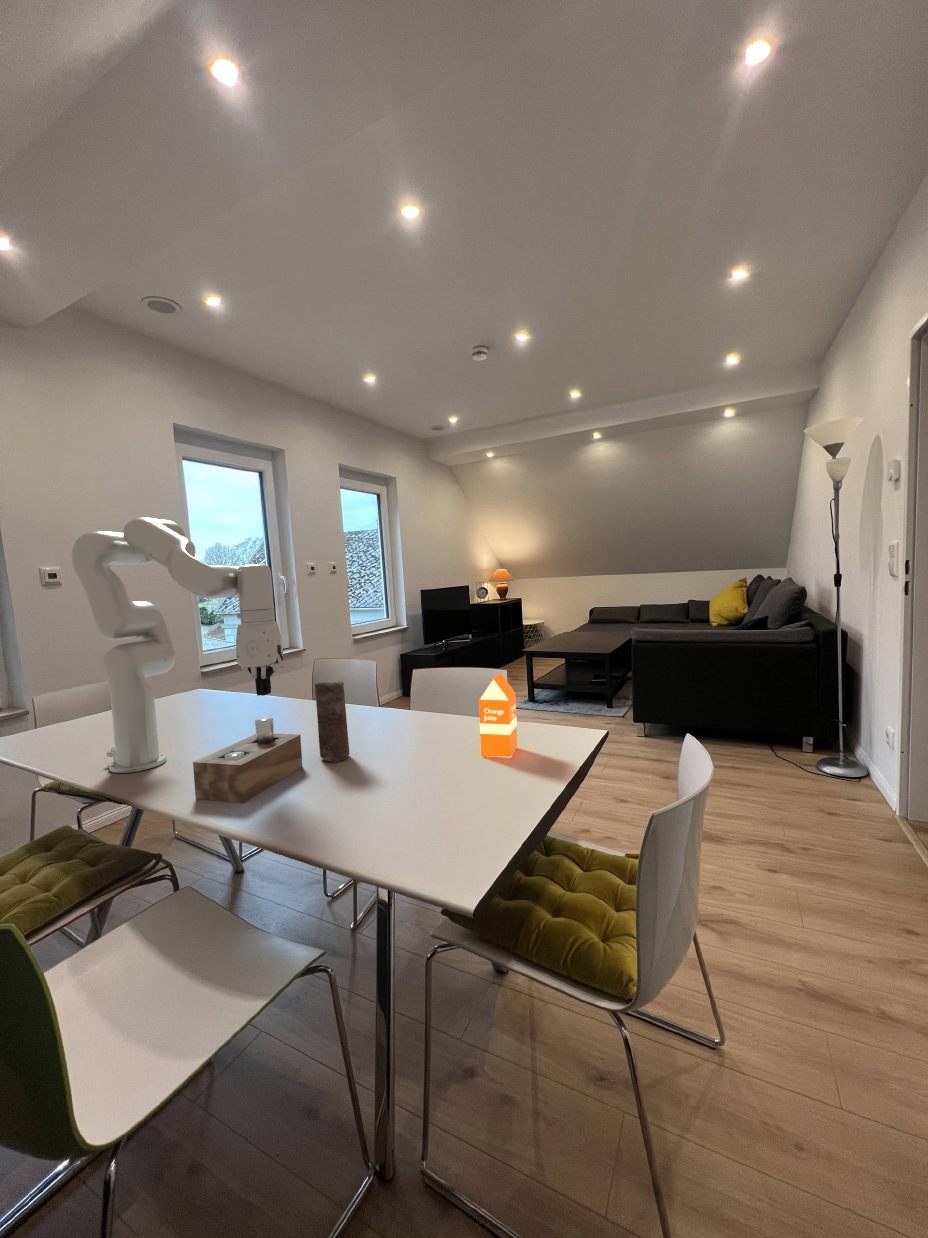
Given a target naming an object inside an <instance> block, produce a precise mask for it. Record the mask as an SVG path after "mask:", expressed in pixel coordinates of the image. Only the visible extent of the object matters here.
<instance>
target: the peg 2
mask: <svg viewBox="0 0 928 1238" xmlns="http://www.w3.org/2000/svg"><path fill="white" fill-rule="evenodd" d="M254 723H255V724H254V725H255V734H256V741H257V743H265V744H268V743H270V742H272V741H274V734H275V731H274V730H275V729H274V726H275V725H274V718H273V717H261V718H257V719H255V720H254Z"/></svg>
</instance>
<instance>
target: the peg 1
mask: <svg viewBox="0 0 928 1238" xmlns="http://www.w3.org/2000/svg"><path fill="white" fill-rule="evenodd" d="M242 756H244V752H233V753H229V754H226V755H225V756H224V757H225V759H238V758H240V757H242Z"/></svg>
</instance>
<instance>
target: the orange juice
mask: <svg viewBox="0 0 928 1238" xmlns="http://www.w3.org/2000/svg"><path fill="white" fill-rule="evenodd" d="M516 695H517V693H516V692H515V691H514V689H513V687H512V686H511V685H510V683H509V682H508V680H507V679H506V677H505V676H504V675H503V673H502V672H499V673H498V674H497V675H495V676H494V677H492V680H491V682H490V684H489V685H488V686H487V688H486V689H485V690H484V692H483V694H482V695H481V697H480V698H479V699H478V702H479V703H478V708H479V734H480V735H479V736H480V739H479V741H480V757H481V756H507V757H508V756H509V757H510V756H511V755H512V753H513V752H514V750H515V748H516V746H517V747H518V732H517V731H518V730H517V729H518V728H517V726H518V724H517V723H518V721H517V719H518V718H517V700H516V699H517V697H516ZM514 753H515V752H514ZM512 756H513V755H512Z"/></svg>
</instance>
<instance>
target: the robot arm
mask: <svg viewBox="0 0 928 1238" xmlns="http://www.w3.org/2000/svg"><path fill="white" fill-rule="evenodd" d="M122 530H123V531H122V532H117V531H116V532H115V531H104V530H101V531H100V530H99V531H89V532H86V533H83V534H81V535H80V536H78V538H77V539H76V540H75V542H74V544H73V546H72V549H71V562H72V563H71V564H72V567H73V569H74V572H75V574H76V576H77V577H78V581H80V583H81V586H82V587H83V589H84V592H85V594H86V596H87V598H86V599H87V600H88V604H89V607H90V610H91V612H92V615H93V619H94V621H95V624H96V626H97V629H98V631H99V634H100V635H101V636H102V637H103V638H104V639H106V640H112V641H116V640H119V641H120V640H128V639H134V638H137V641H133V642H131V641H130V642H126V643H120V644H117V645H114V646H113V647H111V648H109V649H108V650H107V651H106V652H105V654H104V656H103V658H102V669H103V672H104V675H105V678H106V682H107V686H108V691H109V696H110V706H111V707H110V708H111V715H112V716H111V719H112V728H113V730H112V731H113V739H114V747H111V748H110V751H108V752H106V757H108V758H112V760H113V761H112V762H111V763H110V764H109V766H108V768H109V771H110V772H111V773H115V774H129V773H135V772H141V771H145V770H150V769H153V768H156V767H158V766H160V765H162V764H164V763H165V762H166V761H167V755H166V754H165V753H161V752H160V750H159V747H160V746H159V737H158V736H159V735H158V725H157V712H156V711H157V709H156V699H155V693H154V690H153V688H152V686H151V685H150V684H149V682H148V680H147V679H146V678H150V677H153V676H157V675H162V674H165V673H167V672H169V671H170V670H172V668H174V665H175V663H176V651H175V647H174V644H173V641H172V637H171V636H170V635H171V634H170V632H169V629H168V626H167V624H166V623H167V622H166V620H165V618H164V617H165V616H164V615H163V613H162V611H161V610H160V609H159V608H158V606H156V605H155V604H154V603H151V602H149V601H144V600H138V601H132V600H131V599H130V597H129V594H128V592H127V588H126V586H125V584H124V582H123V580H122V579H121V577H119V575H118V574H117V573H115V572H114V570H112V569H111V566H113V567H114V566H119V567H120V566H121V567H123V566H124V567H127V566H128V567H140V566H145V565H146V566H147V565H148V564H151V563H154V562H156V563H158V564H160V565H161V566H163V567H165V568H166V569H167V571H168V574H169V575H170V578H171V579H172V581H173V582H175V583H176V584H177V585H179V586H180V587H181V588H183V589H185V590H187V591H188V592H191V593H192V594H195V595H196V596H198V597H202V598H204V599H220V598H221V599H222V598H225V599H227V598H238V603H239V613H237V614H236V619H238V620H240V624H237V629H236V639H235V654H236V655H235V656H236V663H237V665H238V666H240V669H241V670H242V671H246V672H249V673H250V674H251V676H252V677H251V678H252V679H254V681H255V682H254V683H255V690H256V696H258V697H259V696H261V697H263V696H267V695H269V694H271V693H272V684H271V677H272V676H273V674H274V673H275V672H276V671H279V670H282V669H283V668H284V665H283V662H284V648H283V642H282V641H283V640H282V635H281V630H280V628H279V625H278V624H279V623H278V621H277V622H276V617H275V605H274V603H275V602H274V592H273V591H274V589H273V577H272V570H271V567H270V566H268V565H267V564H256V563H255V564H244V565H240V566H238V565H218V564H217V565H215V564H214V565H213V564H212V565H209V564H207V563H205V562H203V561H201V560H199V559H197V558H195V557H196V546H195V544H194V542H193V541H192V540H190V539H189V538H187V537H186V534H185V531H184V530H183V528H182V527H181V525H179V524H178V523H176V522H175V521H172V520H168V519H159V518H154V517H153V518H152V517H136V518H133V519H130V520H129V521H128V522H126V524H125V525H124V526H123V529H122Z"/></svg>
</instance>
